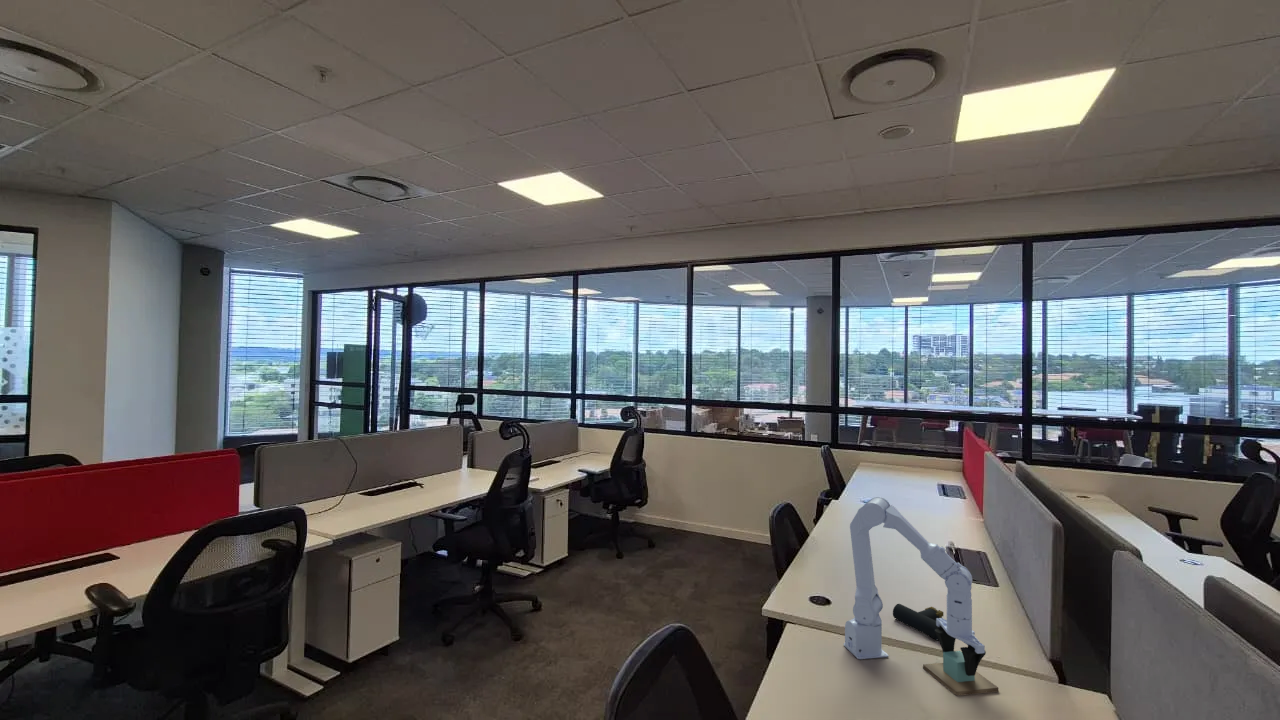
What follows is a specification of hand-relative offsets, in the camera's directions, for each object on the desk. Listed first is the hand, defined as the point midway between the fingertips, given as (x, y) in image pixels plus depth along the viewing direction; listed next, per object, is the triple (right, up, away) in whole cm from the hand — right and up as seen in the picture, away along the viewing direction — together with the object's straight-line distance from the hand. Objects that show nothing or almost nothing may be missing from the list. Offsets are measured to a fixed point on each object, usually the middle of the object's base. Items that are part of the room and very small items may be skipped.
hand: (959, 666), depth 136 cm
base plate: (0, -3, 0) cm, 3 cm away
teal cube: (0, -2, 0) cm, 2 cm away
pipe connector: (+7, -5, +28) cm, 29 cm away
